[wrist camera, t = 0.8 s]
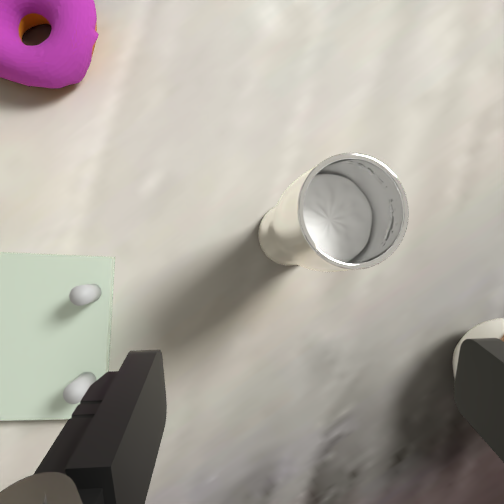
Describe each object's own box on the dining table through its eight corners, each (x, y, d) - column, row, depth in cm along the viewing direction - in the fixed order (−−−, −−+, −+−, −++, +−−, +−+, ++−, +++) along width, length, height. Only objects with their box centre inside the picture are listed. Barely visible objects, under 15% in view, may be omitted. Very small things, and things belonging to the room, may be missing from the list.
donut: (-31, 75, 31) (-71, 42, 26) (5, -29, 32) (-28, -78, 27) (86, 112, 32) (67, 86, 28) (118, 11, 33) (105, -30, 28)
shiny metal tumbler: (335, 248, 35) (434, 234, 20) (275, 283, 34) (333, 297, 19) (300, 187, 35) (375, 127, 20) (240, 220, 34) (270, 184, 19)
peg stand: (-70, 417, 29) (-113, 440, 25) (-56, 250, 30) (-96, 247, 26) (105, 413, 31) (91, 435, 27) (114, 257, 32) (102, 255, 28)
